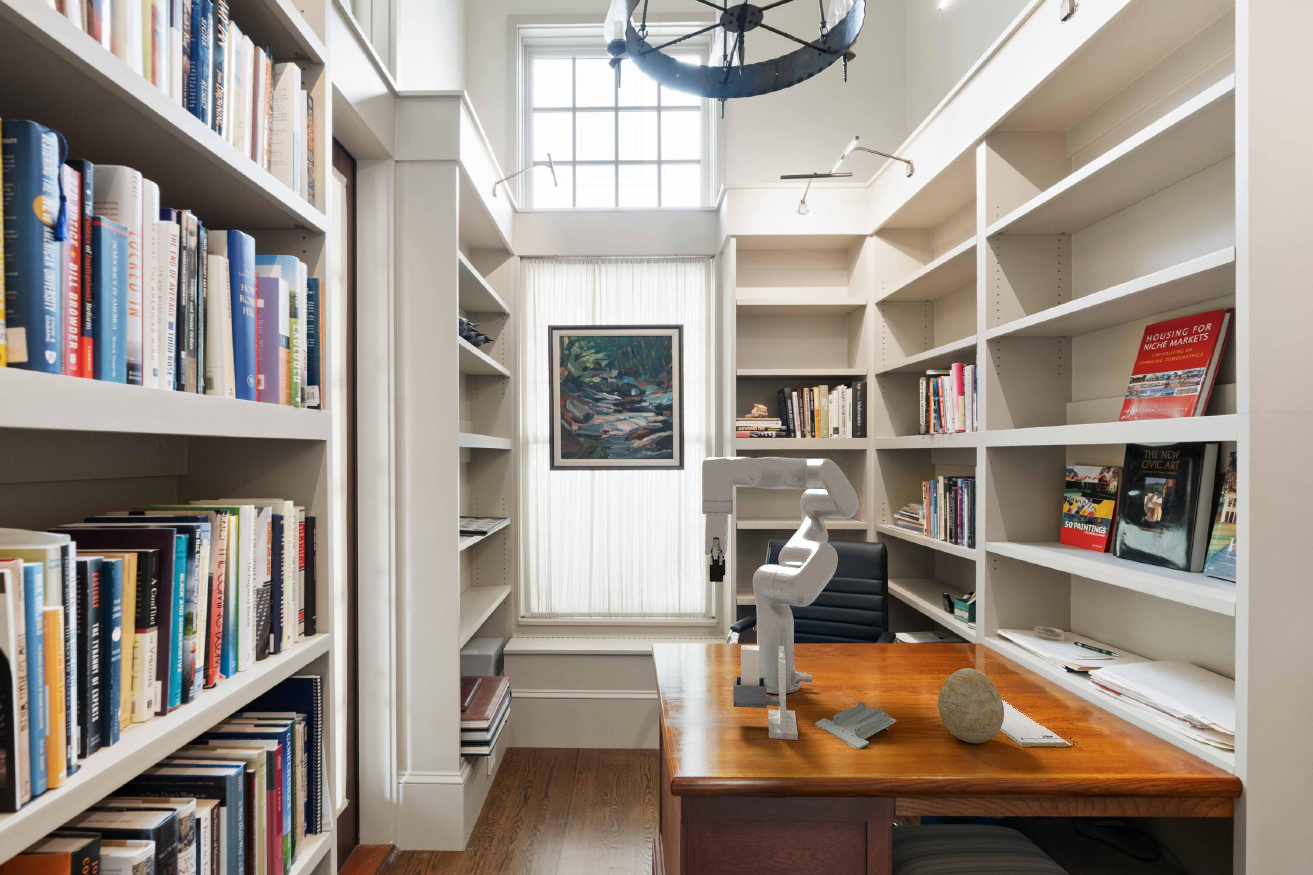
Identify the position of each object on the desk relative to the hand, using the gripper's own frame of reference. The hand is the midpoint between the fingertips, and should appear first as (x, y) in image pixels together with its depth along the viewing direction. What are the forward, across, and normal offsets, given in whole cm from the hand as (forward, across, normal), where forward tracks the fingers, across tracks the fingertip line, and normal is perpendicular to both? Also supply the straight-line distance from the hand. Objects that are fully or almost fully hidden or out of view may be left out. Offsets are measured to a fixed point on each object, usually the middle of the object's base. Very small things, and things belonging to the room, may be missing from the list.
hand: (717, 578), depth 170 cm
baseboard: (+31, 0, +67) cm, 74 cm away
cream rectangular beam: (+24, +12, +8) cm, 28 cm away
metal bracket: (+31, +12, +31) cm, 46 cm away
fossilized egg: (+31, +14, +54) cm, 64 cm away
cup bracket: (+30, +12, +11) cm, 34 cm away
